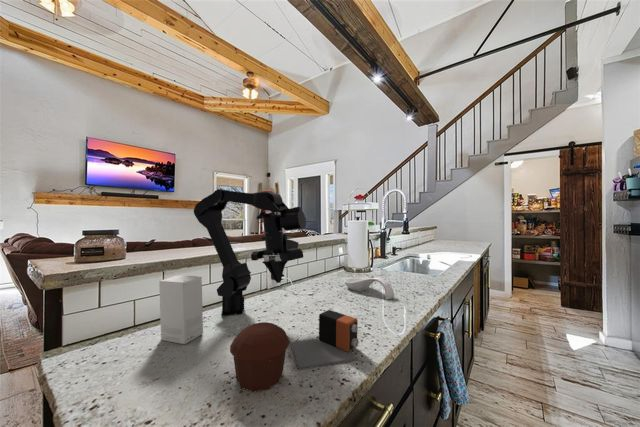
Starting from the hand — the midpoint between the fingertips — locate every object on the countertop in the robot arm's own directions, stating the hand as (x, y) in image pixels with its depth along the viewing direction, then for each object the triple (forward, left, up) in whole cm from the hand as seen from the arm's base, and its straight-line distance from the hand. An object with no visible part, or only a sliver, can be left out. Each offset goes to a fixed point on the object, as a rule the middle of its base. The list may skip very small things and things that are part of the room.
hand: (278, 282), depth 79 cm
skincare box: (-26, -5, -12) cm, 29 cm away
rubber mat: (+8, -21, -11) cm, 25 cm away
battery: (+10, -16, -7) cm, 20 cm away
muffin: (-7, -27, -12) cm, 30 cm away
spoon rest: (+40, +19, -12) cm, 46 cm away
